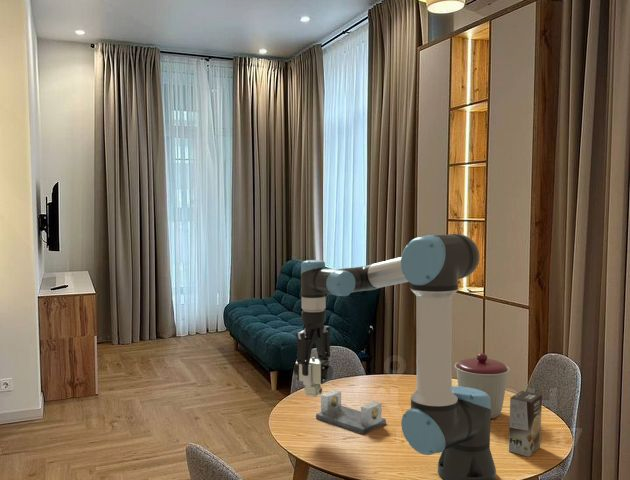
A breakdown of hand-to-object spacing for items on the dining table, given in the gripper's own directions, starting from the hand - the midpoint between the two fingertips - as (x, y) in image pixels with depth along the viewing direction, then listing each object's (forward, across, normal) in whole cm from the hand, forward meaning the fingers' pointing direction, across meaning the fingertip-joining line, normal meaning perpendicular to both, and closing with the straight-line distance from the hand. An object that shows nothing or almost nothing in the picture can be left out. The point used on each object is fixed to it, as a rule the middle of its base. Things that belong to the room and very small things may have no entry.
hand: (314, 382), depth 188 cm
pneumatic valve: (+4, 0, 0) cm, 4 cm away
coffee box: (+17, -32, +54) cm, 65 cm away
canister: (+16, -50, +31) cm, 61 cm away
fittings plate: (+16, -15, +2) cm, 22 cm away
